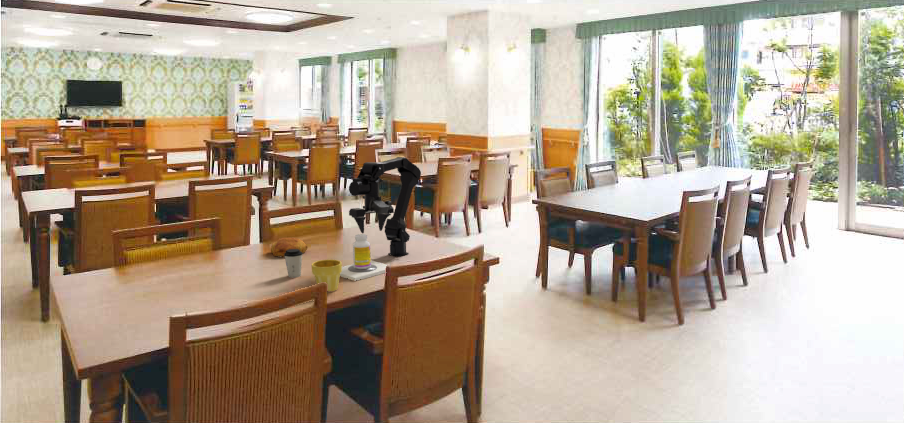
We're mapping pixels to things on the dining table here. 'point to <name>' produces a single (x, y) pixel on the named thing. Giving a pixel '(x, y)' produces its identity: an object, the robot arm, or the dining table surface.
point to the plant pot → (327, 272)
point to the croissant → (287, 246)
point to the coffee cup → (293, 262)
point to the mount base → (362, 271)
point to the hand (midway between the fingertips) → (371, 231)
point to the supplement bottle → (361, 252)
